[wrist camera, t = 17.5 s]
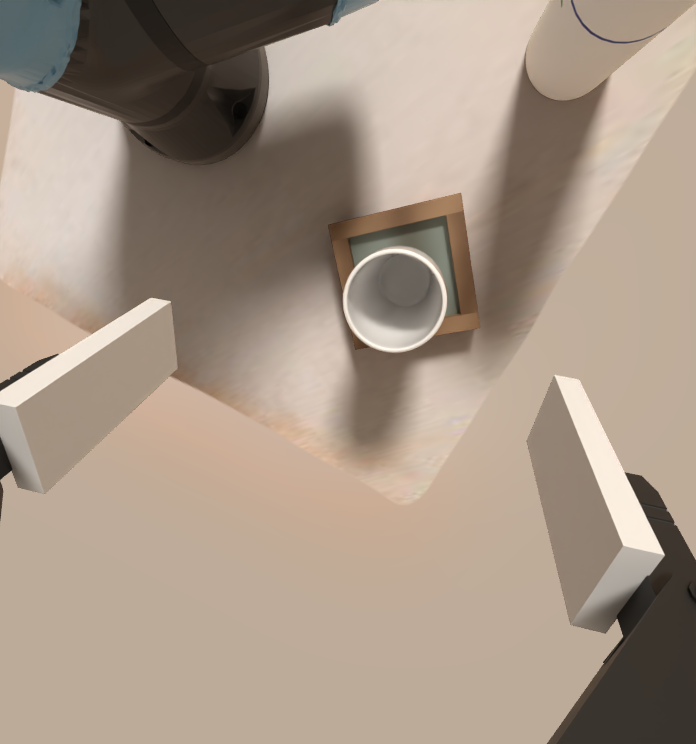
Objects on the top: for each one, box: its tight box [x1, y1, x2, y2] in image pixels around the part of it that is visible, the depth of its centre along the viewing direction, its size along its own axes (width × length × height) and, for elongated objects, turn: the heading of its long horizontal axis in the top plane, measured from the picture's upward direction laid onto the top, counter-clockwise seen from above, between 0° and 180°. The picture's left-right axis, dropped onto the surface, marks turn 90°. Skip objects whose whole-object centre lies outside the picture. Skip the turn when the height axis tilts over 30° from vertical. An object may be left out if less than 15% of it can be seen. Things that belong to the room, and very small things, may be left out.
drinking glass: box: [343, 245, 447, 353], centre depth 35 cm, size 7×7×15 cm
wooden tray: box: [328, 193, 480, 350], centre depth 43 cm, size 12×12×4 cm
